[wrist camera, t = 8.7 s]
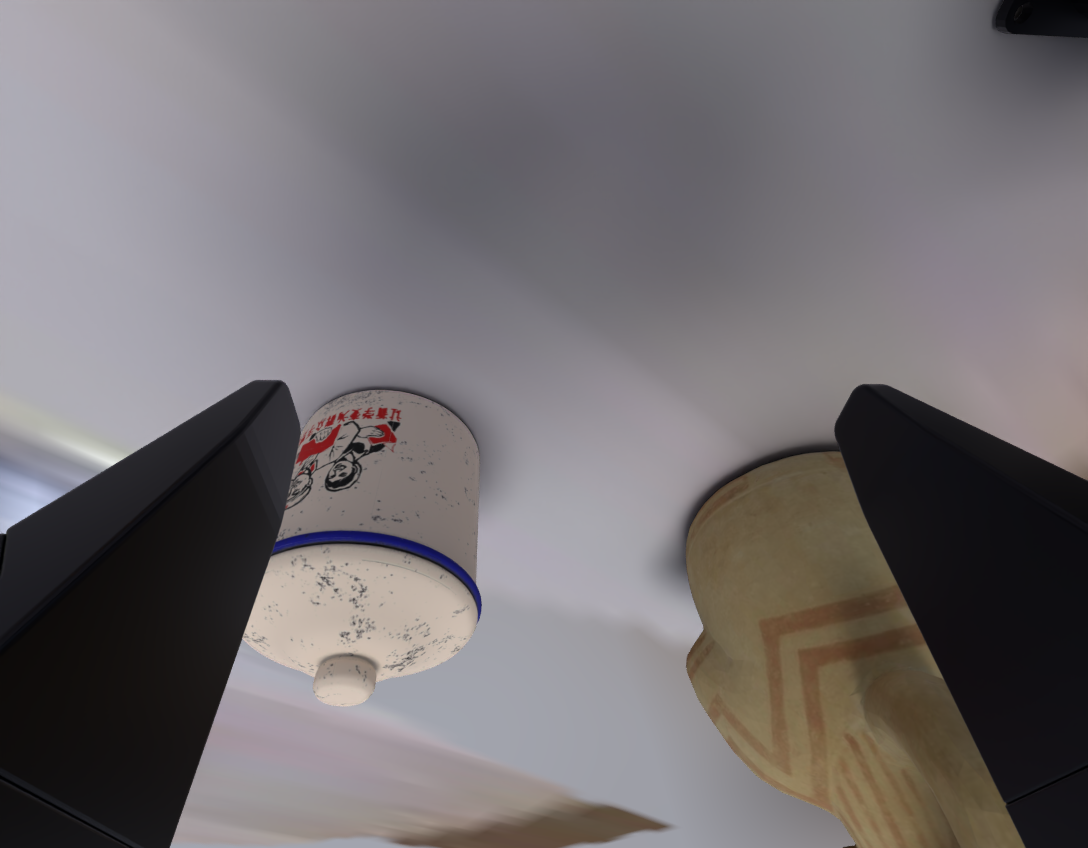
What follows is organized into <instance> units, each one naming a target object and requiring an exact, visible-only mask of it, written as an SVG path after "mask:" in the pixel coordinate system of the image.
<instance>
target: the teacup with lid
mask: <svg viewBox="0 0 1088 848" xmlns="http://www.w3.org/2000/svg"><path fill="white" fill-rule="evenodd" d="M479 475H480V457H479V451H478V447H477V444H476V442H475V440H474V438H473V436H472V434H471V433H470V431H469V430H468V428H467V427H466V426H465V425H464V423H463V422H462V421H461V420H460V419H459V418H458V417H456V416H455V415H454V414H453V413H452V412H450V411H449V410H447V409H446V408H444V407H443V406H441V405H439V404H437V403H435V402H433V401H431V400H429V399H426V398H423V397H420V396H417V395H414V394H410V393H405V392H400V391H392V390H369V391H361V392H356V393H352V394H348V395H345V396H342V397H340V398H337V399H335V400H333V401H331V402H329V403H328V404H326V405H325V406H323V407H322V408H320V409H319V410H318V411H317V412H316V413H315V414H314V415H313V416H312V417H311V418H310V420H309V421H308V422H307V424H306V425H305V427H304V429H303V431H302V434H301V436H300V441H299V446H298V450H297V455H296V460H295V465H294V470H293V474H292V479H291V484H290V489H289V493H288V498H287V503H286V508H285V512H284V516H283V520H282V524H281V527H280V531H279V534H278V537H277V540H276V543H275V546H274V549H273V551H272V554H271V557H270V560H269V563H268V566H267V569H266V572H265V575H264V577H263V580H262V583H261V586H260V589H259V592H258V595H257V598H256V600H255V603H254V606H253V609H252V612H251V615H250V618H249V621H248V623H247V626H246V629H245V632H244V635H243V639H244V641H245V642H246V643H247V644H249V645H250V646H251V647H252V648H253V649H255V650H256V651H258V652H259V653H260V654H262V655H264V656H265V657H267V658H269V659H271V660H273V661H275V662H277V663H279V664H282V665H284V666H287V667H290V668H293V669H296V670H299V671H302V672H304V673H306V674H308V675H310V676H312V677H314V678H315V679H314V683H313V691H314V693H315V695H316V697H317V698H318V699H319V700H320V701H322V702H324V703H326V704H329V705H333V706H353V705H358V704H361V703H363V702H365V701H366V700H367V699H368V698H369V697H370V696H371V695H372V693H373V692H374V689H375V684H376V682H378V681H382V680H385V679H388V678H393V677H400V676H405V675H410V674H414V673H418V672H421V671H424V670H427V669H430V668H432V667H434V666H437V665H439V664H441V663H443V662H444V661H446V660H448V659H449V658H451V657H453V656H454V655H455V654H456V653H458V652H459V650H461V649H462V648H463V647H464V646H465V645H466V643H467V642H468V641H469V639H470V638H471V636H472V634H473V633H474V631H475V628H476V625H477V623H478V621H479V618H480V614H481V606H482V604H481V596H480V593H479V590H478V588H477V586H476V567H477V536H478V506H479Z"/></svg>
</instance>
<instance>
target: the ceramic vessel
mask: <svg viewBox="0 0 1088 848" xmlns="http://www.w3.org/2000/svg"><path fill="white" fill-rule="evenodd" d="M686 566H687V574H688V580H689V585H690V589H691V593H692V596H693V600H694V603H695V605H696V608H697V611H698V614H699V616H700V619H701V621H702V624H703V628H704V630H703V632H702V633H701V635H700V636H699V638H698V639H697V641H696V642H695V644H694V645H693V647H692V648H691V650H690V652H689V654H688V656H687V663H686V668H687V673H688V676H689V678H690V680H691V683H692V685H693V688H694V690H695V693H696V695H697V697H698V699H699V701H700V703H701V705H702V706H703V708H704V710H705V711H706V713H707V714H708V716H709V717H710V719H711V720H712V722H713V723H714V724H715V726H716V727H717V729H718V730H719V732H720V733H721V734H722V736H723V738H724V739H725V740H726V742H727V743H728V745H729V746H730V747H731V749H732V750H733V751H734V753H735V754H736V755H737V756H738V757H739V758H740V759H741V760H742V761H743V762H744V763H745V764H746V765H747V766H748V767H749V768H750V769H751V771H752V772H753V773H754V774H755V775H756V776H758V777H759V778H760V779H761V780H763V781H765V782H766V783H768V784H770V785H771V786H773V787H775V788H776V789H778V790H779V791H781V792H782V793H785V794H788V795H791V796H793V797H795V798H798V799H800V800H803V801H805V802H808V803H810V804H813V805H815V806H818V807H820V808H822V809H824V810H826V811H828V812H830V813H831V814H833V815H834V816H835V817H837V818H838V819H840V820H841V821H842V823H843V825H844V826H845V828H846V829H847V831H848V832H849V834H850V835H851V837H852V838H853V840H854V842H855V843H856V844H855V846H848V847H843V848H1025V846H1024V844H1023V842H1022V840H1021V838H1020V836H1019V834H1018V832H1017V830H1016V828H1015V826H1014V824H1013V822H1012V820H1011V817H1010V815H1009V813H1008V811H1007V809H1006V807H1005V805H1006V804H1007V803H1005V802H1004V801H1003V800H1002V798H1001V796H1000V794H999V792H998V790H997V788H996V786H995V784H994V782H993V780H992V777H991V775H990V773H989V771H988V769H987V767H986V765H985V763H984V761H983V759H982V757H981V755H980V753H979V751H978V749H977V747H976V745H975V743H974V741H973V739H972V737H971V734H970V732H969V730H968V728H967V726H966V724H965V722H964V720H963V718H962V716H961V714H960V712H959V710H958V708H957V706H956V704H955V702H954V700H953V698H952V696H951V694H950V691H949V689H948V687H947V685H946V683H945V681H944V679H943V677H942V675H941V673H940V671H939V669H938V667H937V665H936V663H935V661H934V659H933V657H932V655H931V653H930V651H929V648H928V646H927V644H926V642H925V640H924V638H923V636H922V634H921V632H920V630H919V628H918V626H917V624H916V622H915V620H914V618H913V616H912V614H911V612H910V610H909V608H908V605H907V603H906V601H905V599H904V597H903V595H902V593H901V591H900V589H899V587H898V585H897V583H896V581H895V579H894V577H893V575H892V573H891V571H890V569H889V567H888V565H887V562H886V560H885V558H884V556H883V554H882V552H881V550H880V548H879V546H878V544H877V542H876V540H875V538H874V536H873V534H872V532H871V530H870V528H869V526H868V523H867V521H866V519H865V517H864V515H863V512H862V510H861V507H860V504H859V502H858V499H857V496H856V494H855V491H854V488H853V485H852V482H851V480H850V477H849V474H848V471H847V469H846V466H845V463H844V460H843V457H842V455H841V452H832V451H828V452H816V453H807V454H801V455H796V456H791V457H787V458H784V459H781V460H778V461H775V462H772V463H769V464H765V465H762V466H760V467H758V468H756V469H754V470H752V471H750V472H748V473H746V474H744V475H742V476H740V477H739V478H737V479H735V480H733V481H731V482H729V483H728V484H726V485H725V486H723V487H722V488H720V489H719V490H718V491H717V492H716V493H715V494H714V495H713V496H712V497H711V498H709V499H708V500H707V501H706V502H705V504H704V505H703V506H702V508H701V509H700V510H699V512H698V513H697V515H696V517H695V519H694V521H693V522H692V524H691V526H690V529H689V533H688V537H687V542H686Z"/></svg>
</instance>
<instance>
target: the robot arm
mask: <svg viewBox="0 0 1088 848" xmlns="http://www.w3.org/2000/svg"><path fill="white" fill-rule="evenodd" d="M1022 5H1023V10H1022V13H1021V14H1020V16H1019V17H1018V18H1017V19H1016V20H1015V21H1014V16H1015V13H1016V11H1017V10H1018V9H1019V7H1020V6H1022ZM996 27H997V29H998V31H1000V32H1003V33H1010V34H1025V35H1044V36H1063V37H1083V38H1088V0H1004V1H1003V3H1002V5H1001V7H1000V9H999V11H998V14H997V17H996ZM834 432H835V438H836V441H837V444H838V446H839V449H840V452H841V455H842V457H843V460H844V463H845V466H846V469H847V471H848V474H849V477H850V480H851V482H852V485H853V488H854V491H855V494H856V496H857V499H858V502H859V504H860V507H861V510H862V512H863V515H864V517H865V519H866V521H867V523H868V526H869V528H870V530H871V532H872V534H873V536H874V538H875V540H876V542H877V544H878V546H879V548H880V550H881V552H882V554H883V556H884V558H885V560H886V562H887V565H888V567H889V569H890V571H891V573H892V575H893V577H894V579H895V581H896V583H897V585H898V587H899V589H900V591H901V593H902V595H903V597H904V599H905V601H906V603H907V605H908V608H909V610H910V612H911V614H912V616H913V618H914V620H915V622H916V624H917V626H918V628H919V630H920V632H921V634H922V636H923V638H924V640H925V642H926V644H927V646H928V648H929V651H930V653H931V655H932V657H933V659H934V661H935V663H936V665H937V667H938V669H939V671H940V673H941V675H942V677H943V679H944V681H945V683H946V685H947V687H948V689H949V691H950V694H951V696H952V698H953V700H954V702H955V704H956V706H957V708H958V710H959V712H960V714H961V716H962V718H963V720H964V722H965V724H966V726H967V728H968V730H969V732H970V734H971V737H972V739H973V741H974V743H975V745H976V747H977V749H978V751H979V753H980V755H981V757H982V759H983V761H984V763H985V765H986V767H987V769H988V771H989V773H990V775H991V777H992V780H993V782H994V784H995V786H996V788H997V790H998V792H999V794H1000V796H1001V798H1002V800H1003V801H1004V802H1005V803H1007V804H1006V805H1005V807H1006V809H1007V811H1008V813H1009V815H1010V817H1011V820H1012V822H1013V824H1014V826H1015V828H1016V830H1017V832H1018V834H1019V836H1020V838H1021V840H1022V842H1023V844H1024V846H1025V848H1088V481H1087V480H1085V479H1083V478H1081V477H1079V476H1077V475H1075V474H1073V473H1070V472H1068V471H1066V470H1064V469H1062V468H1060V467H1058V466H1056V465H1054V464H1052V463H1050V462H1047V461H1045V460H1043V459H1041V458H1039V457H1037V456H1035V455H1033V454H1031V453H1029V452H1026V451H1024V450H1022V449H1020V448H1018V447H1016V446H1014V445H1012V444H1010V443H1008V442H1006V441H1003V440H1001V439H999V438H997V437H995V436H993V435H991V434H989V433H987V432H985V431H982V430H980V429H978V428H976V427H974V426H972V425H970V424H968V423H966V422H964V421H962V420H959V419H957V418H955V417H953V416H951V415H949V414H947V413H945V412H943V411H941V410H938V409H936V408H934V407H932V406H930V405H928V404H926V403H924V402H922V401H920V400H918V399H915V398H913V397H911V396H909V395H907V394H905V393H903V392H901V391H899V390H897V389H894V388H892V387H890V386H888V385H883V384H862V385H859V386H858V387H856V388H855V389H854V390H853V392H852V393H851V395H850V397H849V399H848V401H847V402H846V404H845V406H844V408H843V410H842V412H841V413H840V415H839V417H838V419H837V421H836V424H835V430H834ZM300 433H301V430H300V423H299V419H298V416H297V413H296V410H295V407H294V403H293V400H292V397H291V394H290V391H289V388H288V386H287V385H286V383H284V382H283V381H281V380H255V381H252V382H250V383H249V384H247V385H245V386H244V387H242V388H240V389H239V390H237V391H235V392H234V393H232V394H230V395H229V396H227V397H226V398H224V399H222V400H221V401H219V402H217V403H216V404H214V405H212V406H211V407H209V408H207V409H206V410H204V411H202V412H201V413H199V414H197V415H196V416H194V417H192V418H191V419H189V420H187V421H186V422H184V423H182V424H181V425H179V426H177V427H176V428H174V429H172V430H171V431H169V432H168V433H166V434H164V435H163V436H161V437H159V438H158V439H156V440H154V441H153V442H151V443H149V444H148V445H146V446H144V447H143V448H141V449H139V450H138V451H136V452H134V453H133V454H131V455H129V456H128V457H126V458H124V459H123V460H121V461H119V462H118V463H116V464H114V465H113V466H111V467H109V468H108V469H106V470H104V471H103V472H101V473H100V474H98V475H96V476H95V477H93V478H91V479H90V480H88V481H86V482H85V483H83V484H81V485H80V486H78V487H76V488H75V489H73V490H71V491H70V492H68V493H66V494H65V495H63V496H61V497H60V498H58V499H56V500H55V501H53V502H51V503H50V504H48V505H46V506H45V507H43V508H41V509H40V510H38V511H36V512H35V513H33V514H31V515H30V516H28V517H27V518H25V519H23V520H22V521H20V522H18V523H17V524H15V525H13V526H12V527H10V528H9V529H8V530H7V532H6V534H0V848H170V845H171V842H172V839H173V837H174V834H175V831H176V828H177V825H178V822H179V819H180V816H181V814H182V811H183V808H184V805H185V802H186V799H187V796H188V793H189V790H190V788H191V785H192V782H193V779H194V776H195V773H196V770H197V767H198V765H199V762H200V759H201V756H202V753H203V750H204V747H205V744H206V742H207V739H208V736H209V733H210V730H211V727H212V724H213V721H214V718H215V716H216V713H217V710H218V707H219V704H220V701H221V698H222V695H223V693H224V690H225V687H226V684H227V681H228V678H229V675H230V672H231V670H232V667H233V664H234V661H235V658H236V655H237V652H238V649H239V646H240V644H241V641H242V638H243V635H244V632H245V629H246V626H247V623H248V621H249V618H250V615H251V612H252V609H253V606H254V603H255V600H256V598H257V595H258V592H259V589H260V586H261V583H262V580H263V577H264V575H265V572H266V569H267V566H268V563H269V560H270V557H271V554H272V551H273V549H274V546H275V543H276V540H277V537H278V534H279V531H280V527H281V524H282V520H283V516H284V512H285V508H286V503H287V498H288V493H289V489H290V484H291V479H292V474H293V470H294V465H295V460H296V455H297V450H298V446H299V441H300Z"/></svg>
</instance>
